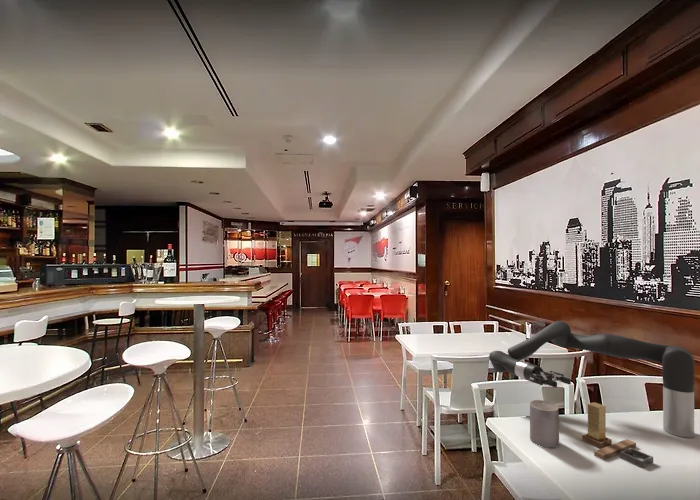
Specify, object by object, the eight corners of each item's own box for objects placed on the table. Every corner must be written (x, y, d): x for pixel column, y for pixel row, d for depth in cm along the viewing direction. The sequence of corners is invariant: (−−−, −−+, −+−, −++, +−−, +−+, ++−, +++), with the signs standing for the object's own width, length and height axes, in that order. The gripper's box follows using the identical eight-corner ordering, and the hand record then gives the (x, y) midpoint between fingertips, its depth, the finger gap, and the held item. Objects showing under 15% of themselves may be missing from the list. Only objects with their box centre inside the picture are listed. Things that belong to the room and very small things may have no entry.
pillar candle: (537, 432, 145) (537, 394, 145) (564, 443, 137) (563, 402, 137) (524, 440, 139) (524, 400, 139) (551, 451, 131) (551, 409, 131)
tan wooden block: (594, 439, 140) (594, 402, 140) (605, 444, 137) (605, 406, 137) (587, 441, 138) (587, 404, 139) (599, 446, 135) (599, 408, 135)
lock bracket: (603, 433, 145) (603, 428, 145) (663, 458, 127) (663, 452, 127) (570, 444, 136) (570, 439, 136) (630, 473, 118) (630, 466, 118)
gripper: (517, 365, 161) (552, 376, 146) (539, 361, 167) (574, 371, 152) (517, 382, 161) (551, 395, 146) (539, 377, 167) (574, 390, 152)
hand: (563, 383), depth 149 cm, fingers open, 8 cm apart
